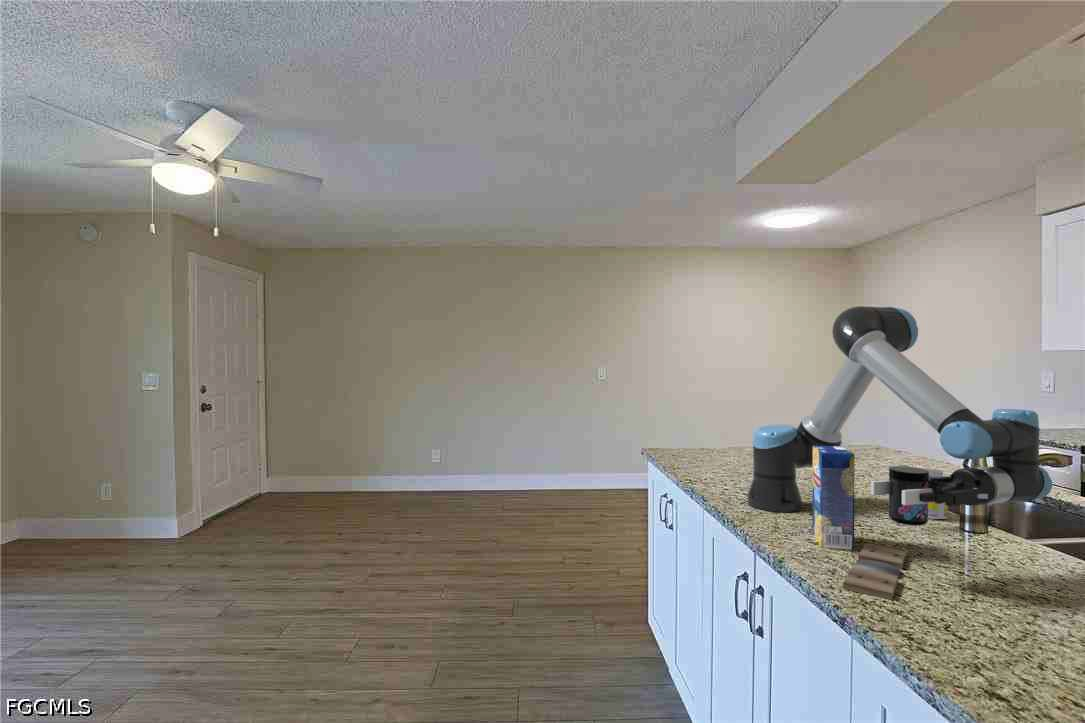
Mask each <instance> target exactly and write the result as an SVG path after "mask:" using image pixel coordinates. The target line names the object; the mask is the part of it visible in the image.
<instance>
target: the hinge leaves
mask: <svg viewBox="0 0 1085 723" xmlns="http://www.w3.org/2000/svg"><path fill="white" fill-rule="evenodd" d="M857 558H858V559H857V561H855V563H854V566H851V568H850V570H849V571H848V573H847V575H846V576H845V578H844V581H843V582H842V589H843V590H846V591H852V592H856V593H860V594H865V595H868V596H874V597H879V598H882V599H887V600H891V601H892V600H893V599H894V595H895V593H896V590H897V586H898V583H899V577H900V576H901V571H902V570H903V568H904V564H905V562H906V558H907V550H906V549H901V548H895V547H890V546H883V545H879V544H873V543H866V542H865V543H864V544H863V546H862V548H861V550H860V552H859V553H858V554H857Z"/></svg>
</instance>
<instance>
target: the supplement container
mask: <svg viewBox="0 0 1085 723" xmlns="http://www.w3.org/2000/svg"><path fill="white" fill-rule="evenodd" d="M925 469H926V468H920V467H914V466H906V465H905V466H902V465H901V466H900V465H897V466H896V465H892V466H889V467H888V480H889V494H888V517H889V519H890V520H891V521H893V522H894V523H898V524H901V525H906V526H918V527H920V526H925V525H926V524H928V521H929V519H928V503H926V504H913V505H903V504H902V490H911V489H925V488H929V471H928V470H925Z"/></svg>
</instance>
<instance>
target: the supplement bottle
mask: <svg viewBox="0 0 1085 723" xmlns="http://www.w3.org/2000/svg"><path fill="white" fill-rule="evenodd" d="M924 469H925V470H928V471H929V475H930V477H942V476H944V471H943V470H939V469H933V468H924ZM948 507H949V506H948V505H946V502H944V503H941V504H937V503H935V502H933V503H928V518H929V519H928V520H931V519H945V520H947V519H948V517H949V516H948V514H949V513H948V511H949V510H948ZM946 518H947V519H946Z"/></svg>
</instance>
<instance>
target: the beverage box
mask: <svg viewBox="0 0 1085 723" xmlns="http://www.w3.org/2000/svg"><path fill="white" fill-rule="evenodd" d="M812 535H813V536H814V538H815V540H816V541H817V542H818V544H819V546H820V548H822V549H823V548H824V549H836V550H837V549H838V550H849V551H855V453H853V452H852V451H850V450H849V449H847V447H844V446H841V447H837V446H813V467H812Z"/></svg>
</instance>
